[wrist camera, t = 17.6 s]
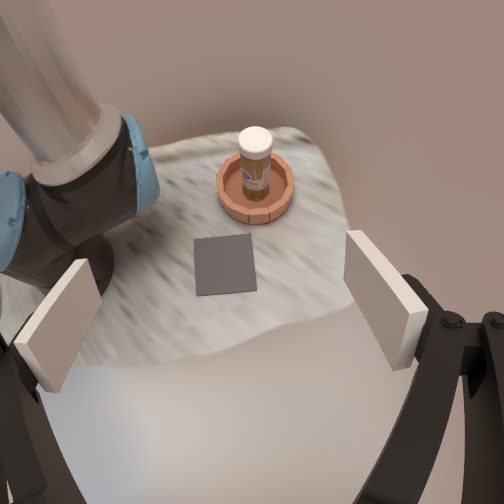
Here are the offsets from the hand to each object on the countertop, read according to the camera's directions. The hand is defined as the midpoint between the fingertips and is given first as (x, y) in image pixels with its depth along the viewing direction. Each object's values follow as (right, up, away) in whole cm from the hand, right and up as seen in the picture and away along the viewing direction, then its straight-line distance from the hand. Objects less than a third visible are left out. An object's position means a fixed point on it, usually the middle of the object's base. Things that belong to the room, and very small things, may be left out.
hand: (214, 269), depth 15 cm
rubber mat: (-2, -1, +33) cm, 33 cm away
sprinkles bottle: (+2, +11, +36) cm, 38 cm away
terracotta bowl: (+2, +11, +37) cm, 39 cm away
